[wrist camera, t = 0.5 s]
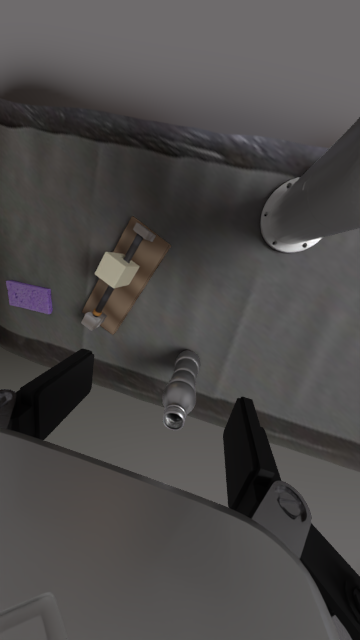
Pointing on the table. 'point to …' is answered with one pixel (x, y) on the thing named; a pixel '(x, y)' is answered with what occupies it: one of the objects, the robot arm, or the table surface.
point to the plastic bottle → (181, 390)
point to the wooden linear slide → (116, 302)
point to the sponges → (29, 296)
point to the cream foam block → (116, 270)
